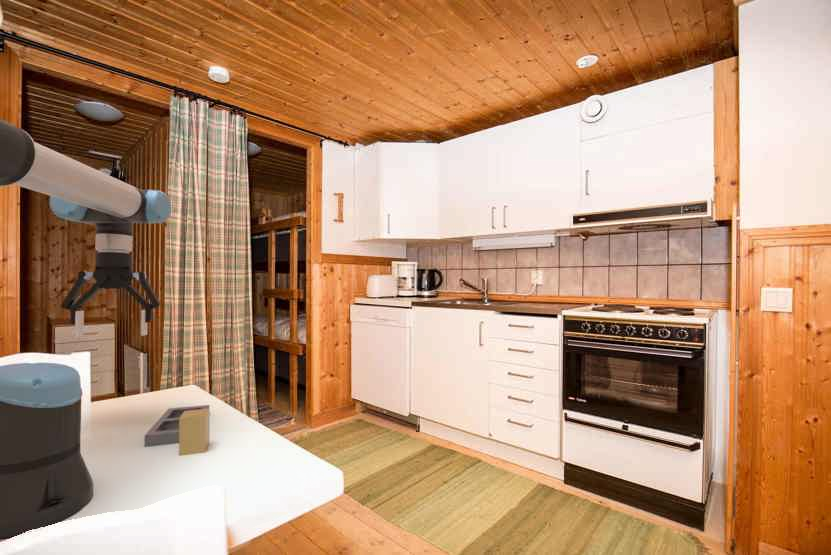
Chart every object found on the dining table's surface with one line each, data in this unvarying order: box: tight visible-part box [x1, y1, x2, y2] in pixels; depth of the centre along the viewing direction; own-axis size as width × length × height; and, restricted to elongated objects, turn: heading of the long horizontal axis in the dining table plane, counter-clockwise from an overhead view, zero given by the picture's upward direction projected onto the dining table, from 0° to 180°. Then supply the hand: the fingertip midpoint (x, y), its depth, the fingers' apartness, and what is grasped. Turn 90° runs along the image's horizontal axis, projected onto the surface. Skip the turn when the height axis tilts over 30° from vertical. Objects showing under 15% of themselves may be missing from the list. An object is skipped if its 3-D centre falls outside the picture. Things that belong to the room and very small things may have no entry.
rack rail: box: [144, 404, 211, 448], centre depth 101 cm, size 20×10×2 cm, turn 18°
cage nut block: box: [178, 409, 210, 456], centre depth 88 cm, size 5×5×8 cm
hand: (112, 336), depth 101 cm, fingers open, 13 cm apart
